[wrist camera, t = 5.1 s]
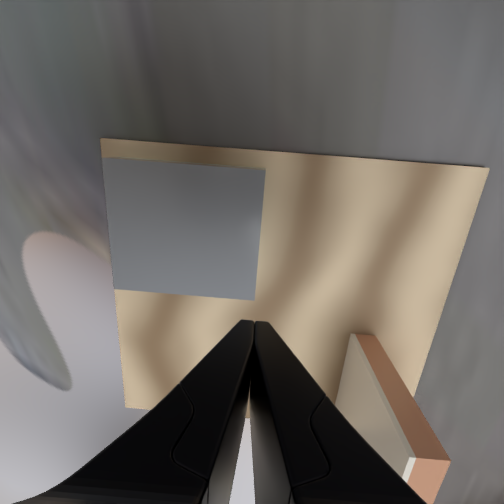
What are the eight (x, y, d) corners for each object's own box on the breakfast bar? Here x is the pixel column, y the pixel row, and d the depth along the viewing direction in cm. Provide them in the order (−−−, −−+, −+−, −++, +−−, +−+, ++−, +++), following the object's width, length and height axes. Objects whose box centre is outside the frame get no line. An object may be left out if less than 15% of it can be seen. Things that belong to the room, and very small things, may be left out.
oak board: (485, 167, 17) (489, 167, 17) (399, 427, 24) (401, 431, 24) (103, 138, 18) (99, 137, 17) (127, 403, 25) (125, 407, 24)
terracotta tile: (375, 335, 21) (451, 461, 13) (354, 418, 24) (405, 567, 15) (350, 333, 21) (409, 457, 13) (332, 416, 24) (370, 564, 15)
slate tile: (265, 170, 16) (101, 157, 16) (254, 300, 18) (113, 288, 19) (265, 168, 17) (117, 156, 18) (255, 288, 20) (126, 277, 20)
